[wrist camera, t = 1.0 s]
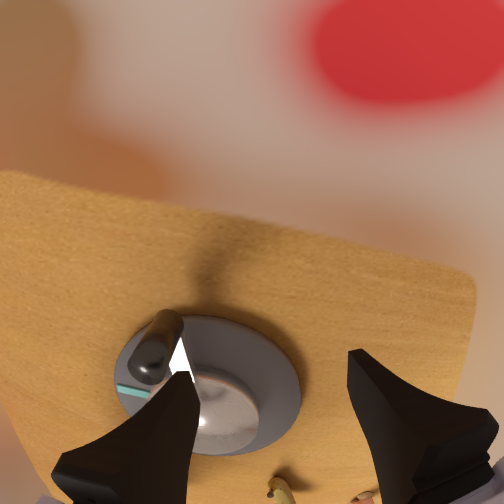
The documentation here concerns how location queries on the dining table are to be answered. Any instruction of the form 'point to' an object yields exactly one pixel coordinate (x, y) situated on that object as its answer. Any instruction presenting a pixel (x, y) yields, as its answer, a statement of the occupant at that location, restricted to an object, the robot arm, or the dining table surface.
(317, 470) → the dining table surface
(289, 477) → the dining table surface
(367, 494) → the grandmother figurine
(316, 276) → the dining table surface
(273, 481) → the banana
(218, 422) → the dial
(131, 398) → the dial base
